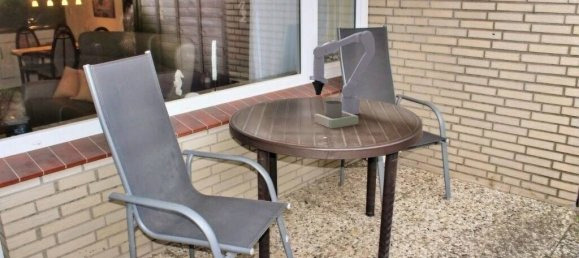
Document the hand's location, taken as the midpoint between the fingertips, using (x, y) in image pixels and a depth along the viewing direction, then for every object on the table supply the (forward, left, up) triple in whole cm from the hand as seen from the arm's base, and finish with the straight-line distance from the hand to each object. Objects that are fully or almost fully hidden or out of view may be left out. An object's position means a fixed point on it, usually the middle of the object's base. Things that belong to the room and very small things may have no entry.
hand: (318, 95), depth 255 cm
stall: (+5, +22, -9) cm, 24 cm away
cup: (+5, +21, -10) cm, 23 cm away
